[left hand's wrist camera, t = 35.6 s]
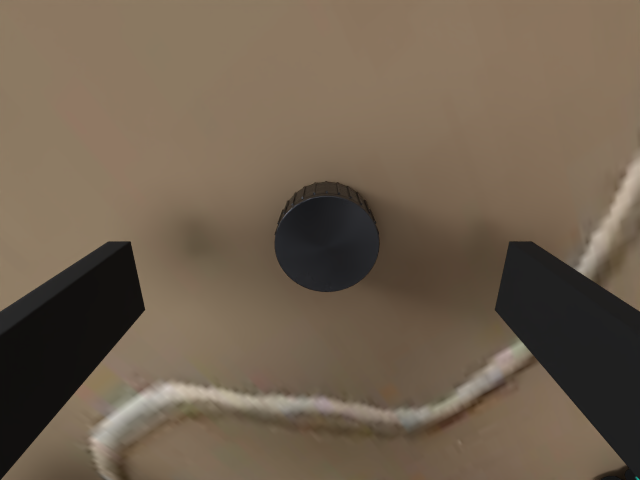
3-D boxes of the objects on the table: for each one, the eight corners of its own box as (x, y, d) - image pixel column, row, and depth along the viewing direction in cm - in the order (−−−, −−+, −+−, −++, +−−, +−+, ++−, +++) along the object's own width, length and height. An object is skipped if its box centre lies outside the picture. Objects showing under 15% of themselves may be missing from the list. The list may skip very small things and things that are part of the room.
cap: (289, 170, 15) (283, 183, 13) (384, 192, 16) (394, 207, 13) (272, 258, 17) (265, 281, 15) (359, 275, 17) (364, 302, 15)
